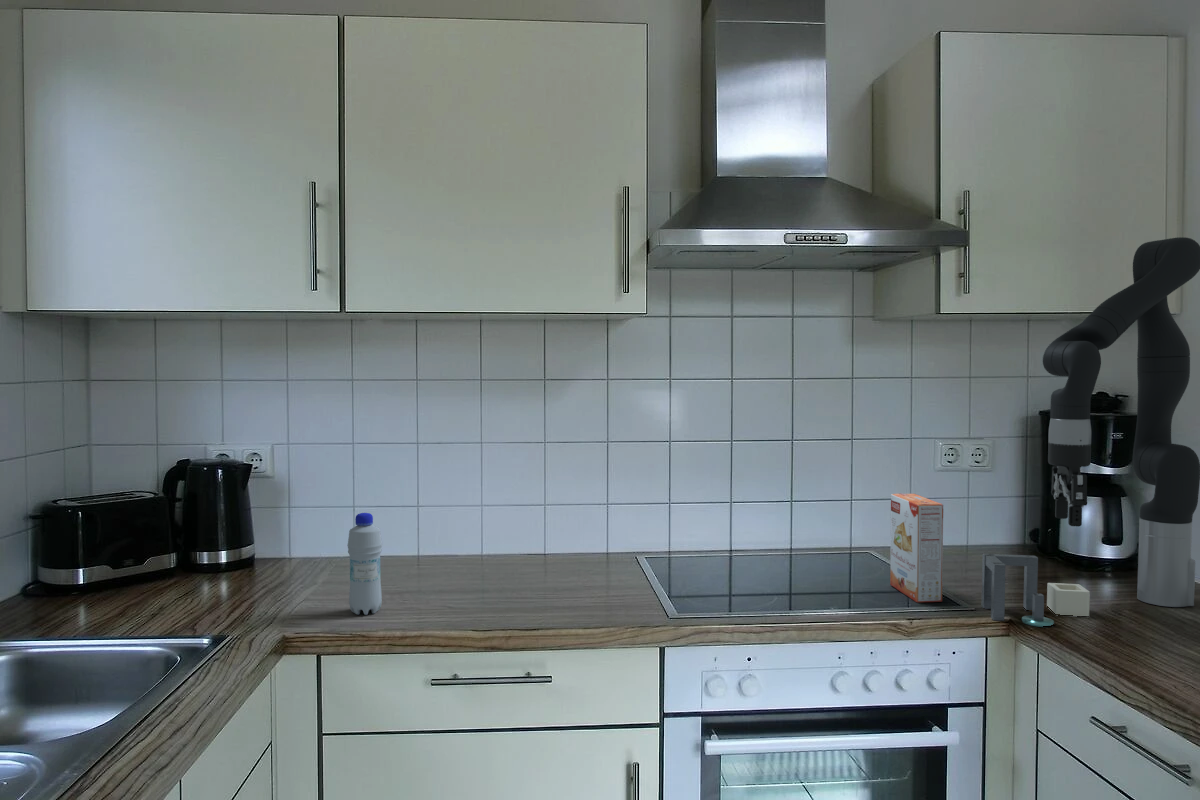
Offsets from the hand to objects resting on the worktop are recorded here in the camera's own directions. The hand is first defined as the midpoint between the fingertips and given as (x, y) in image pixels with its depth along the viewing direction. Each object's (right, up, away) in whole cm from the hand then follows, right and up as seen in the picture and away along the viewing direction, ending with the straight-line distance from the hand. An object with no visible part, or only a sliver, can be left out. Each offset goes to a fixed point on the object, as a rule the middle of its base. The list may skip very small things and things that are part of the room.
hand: (1067, 522), depth 175 cm
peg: (-9, -18, -7) cm, 22 cm away
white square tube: (0, -18, 0) cm, 18 cm away
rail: (-11, -18, -1) cm, 22 cm away
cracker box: (-26, -18, +14) cm, 34 cm away
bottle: (-141, -18, 0) cm, 142 cm away
